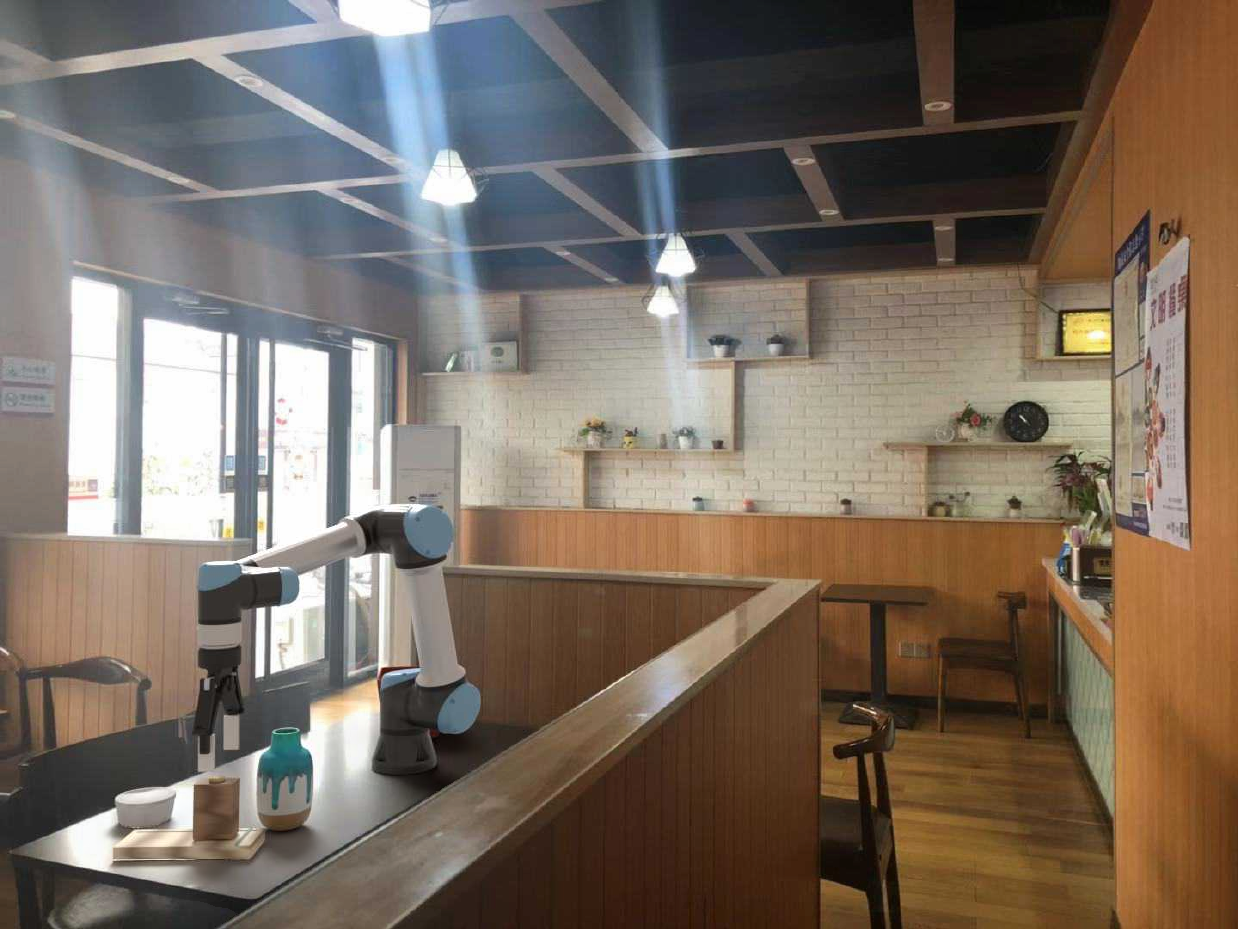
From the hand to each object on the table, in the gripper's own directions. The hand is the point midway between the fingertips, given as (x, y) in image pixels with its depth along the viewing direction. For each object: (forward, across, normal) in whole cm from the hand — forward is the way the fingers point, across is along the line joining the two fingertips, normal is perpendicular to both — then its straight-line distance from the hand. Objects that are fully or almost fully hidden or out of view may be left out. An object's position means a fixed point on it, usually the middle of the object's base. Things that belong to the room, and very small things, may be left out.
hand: (219, 760), depth 181 cm
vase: (+17, -11, +9) cm, 22 cm away
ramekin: (+17, -16, -20) cm, 31 cm away
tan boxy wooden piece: (+14, -1, 0) cm, 14 cm away
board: (+16, 0, -5) cm, 17 cm away
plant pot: (+18, -84, +24) cm, 89 cm away
